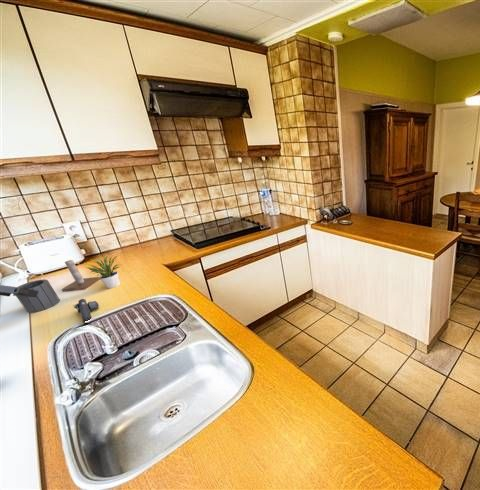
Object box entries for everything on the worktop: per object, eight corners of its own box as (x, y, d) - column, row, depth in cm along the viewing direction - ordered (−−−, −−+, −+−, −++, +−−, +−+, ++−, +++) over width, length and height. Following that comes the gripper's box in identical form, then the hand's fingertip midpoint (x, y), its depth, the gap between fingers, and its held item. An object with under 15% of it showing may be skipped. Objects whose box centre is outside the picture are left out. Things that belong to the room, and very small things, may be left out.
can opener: (78, 310, 116) (71, 300, 114) (99, 303, 121) (93, 293, 118) (76, 329, 104) (69, 318, 102) (100, 321, 109) (94, 309, 106)
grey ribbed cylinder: (20, 314, 116) (5, 293, 111) (42, 300, 125) (29, 280, 120) (46, 311, 117) (32, 290, 113) (66, 298, 126) (53, 278, 122)
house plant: (127, 274, 145) (114, 247, 138) (138, 280, 138) (125, 252, 132) (93, 287, 134) (77, 258, 127) (103, 294, 127) (87, 264, 121)
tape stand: (62, 291, 132) (47, 267, 126) (79, 281, 141) (66, 257, 135) (85, 289, 133) (71, 264, 127) (100, 279, 142) (88, 255, 136)
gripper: (-89, 291, 95) (-5, 301, 114) (-34, 293, 92) (43, 303, 111) (-76, 271, 98) (4, 284, 117) (-21, 272, 94) (51, 285, 114)
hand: (23, 293), depth 114 cm, fingers open, 13 cm apart
